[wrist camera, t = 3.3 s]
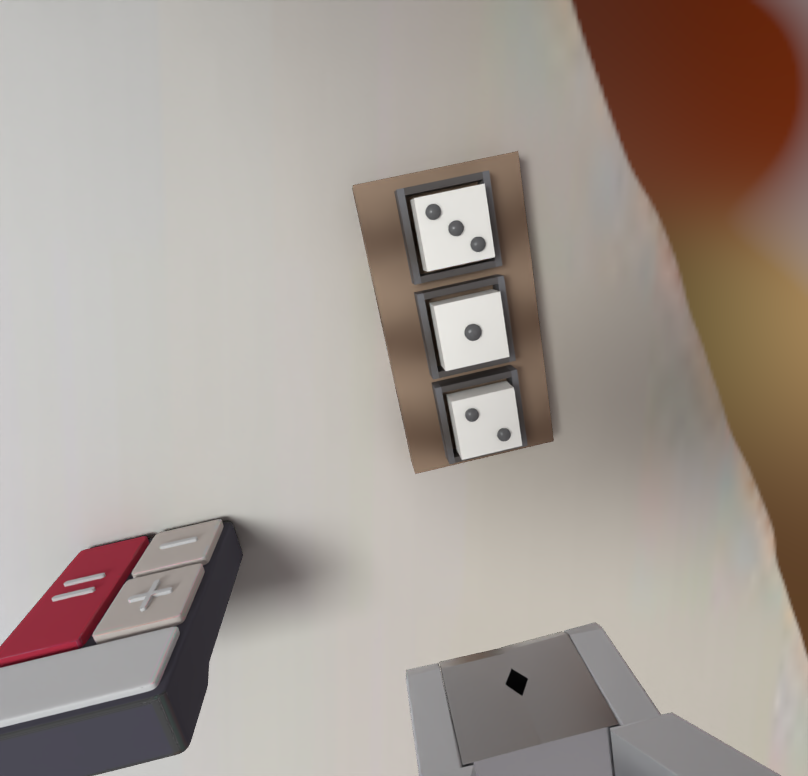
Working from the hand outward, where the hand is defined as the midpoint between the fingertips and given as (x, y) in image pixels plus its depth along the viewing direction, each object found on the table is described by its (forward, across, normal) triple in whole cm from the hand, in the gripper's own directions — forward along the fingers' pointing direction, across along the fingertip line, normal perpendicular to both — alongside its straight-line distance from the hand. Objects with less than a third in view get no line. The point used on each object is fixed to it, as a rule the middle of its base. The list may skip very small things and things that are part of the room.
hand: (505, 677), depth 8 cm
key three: (+25, -5, -6) cm, 26 cm away
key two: (+25, -5, +6) cm, 26 cm away
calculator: (+28, +19, +12) cm, 36 cm away
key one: (+25, -5, 0) cm, 25 cm away
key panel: (+28, -5, 0) cm, 28 cm away
